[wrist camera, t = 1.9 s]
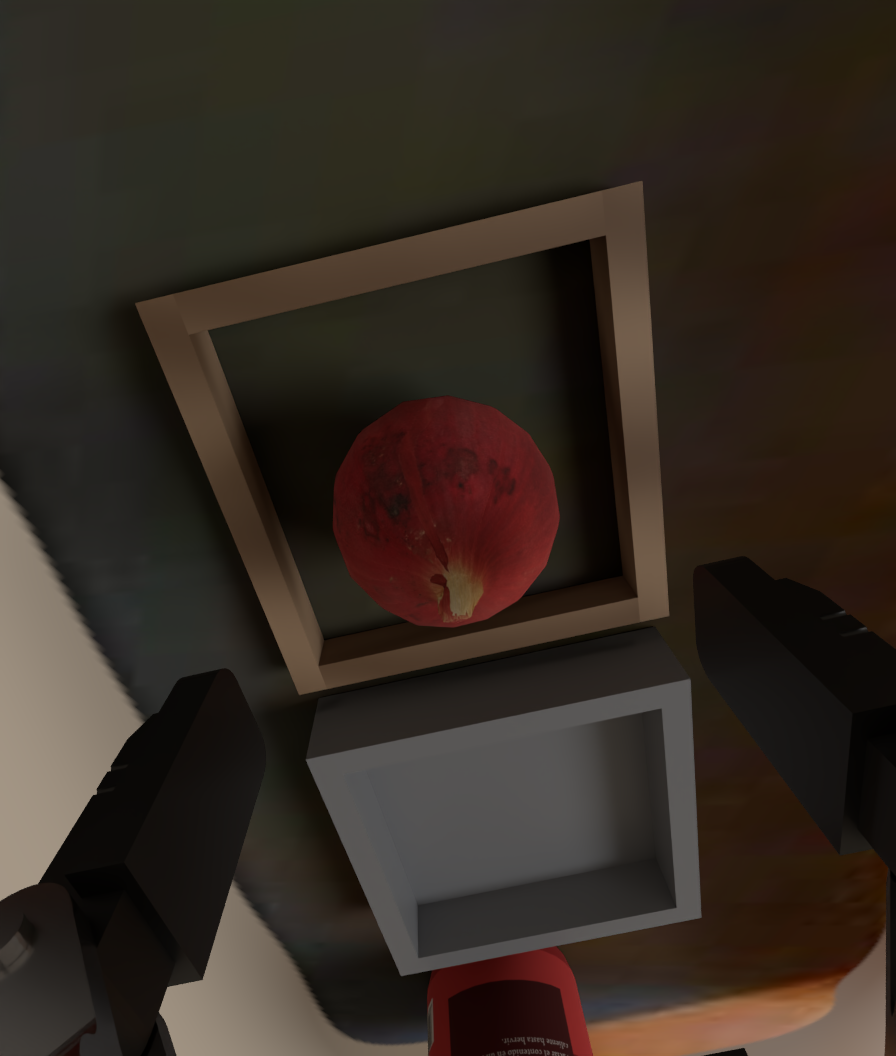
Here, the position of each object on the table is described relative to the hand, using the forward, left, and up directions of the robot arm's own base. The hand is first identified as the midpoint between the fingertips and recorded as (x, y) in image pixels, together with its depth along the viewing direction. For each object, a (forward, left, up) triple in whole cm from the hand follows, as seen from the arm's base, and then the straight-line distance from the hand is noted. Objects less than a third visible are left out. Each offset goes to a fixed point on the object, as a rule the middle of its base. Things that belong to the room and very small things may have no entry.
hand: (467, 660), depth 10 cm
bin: (+14, 0, -10) cm, 17 cm away
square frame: (0, 0, -10) cm, 10 cm away
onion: (0, 0, -10) cm, 10 cm away
